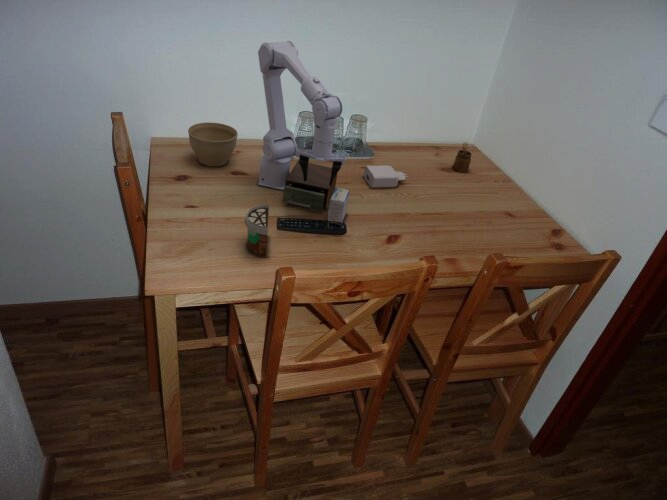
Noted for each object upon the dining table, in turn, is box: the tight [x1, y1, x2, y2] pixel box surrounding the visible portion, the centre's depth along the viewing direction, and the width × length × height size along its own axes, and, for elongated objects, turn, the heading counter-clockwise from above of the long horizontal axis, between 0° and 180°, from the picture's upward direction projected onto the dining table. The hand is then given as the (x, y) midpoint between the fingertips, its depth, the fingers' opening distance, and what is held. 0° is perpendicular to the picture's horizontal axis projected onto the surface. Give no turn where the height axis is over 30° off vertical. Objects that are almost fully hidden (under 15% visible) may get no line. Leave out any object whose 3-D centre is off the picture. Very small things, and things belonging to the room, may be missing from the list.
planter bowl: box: [187, 122, 238, 167], centre depth 173 cm, size 16×16×11 cm
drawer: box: [282, 183, 326, 213], centre depth 158 cm, size 19×12×6 cm, turn 168°
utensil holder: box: [452, 141, 472, 173], centre depth 194 cm, size 6×6×12 cm
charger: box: [363, 165, 410, 189], centre depth 179 cm, size 5×9×15 cm
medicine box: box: [327, 187, 350, 224], centre depth 153 cm, size 8×4×9 cm, turn 168°
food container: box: [244, 204, 270, 258], centre depth 135 cm, size 12×6×10 cm, turn 5°
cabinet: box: [285, 160, 338, 211], centre depth 163 cm, size 15×14×8 cm
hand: (318, 182), depth 152 cm, fingers open, 7 cm apart
